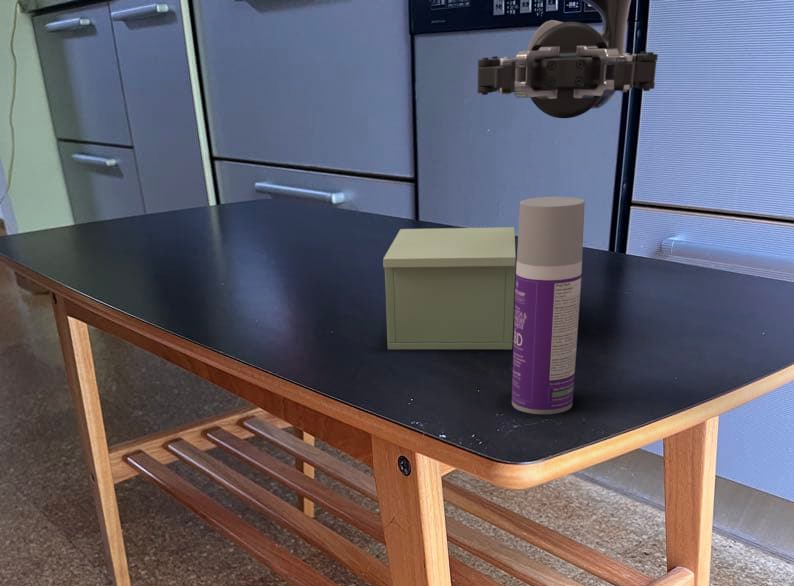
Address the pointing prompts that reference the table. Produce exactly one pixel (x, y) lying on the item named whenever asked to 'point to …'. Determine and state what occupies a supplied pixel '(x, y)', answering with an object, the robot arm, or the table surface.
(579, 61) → the robot arm
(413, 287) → the chest
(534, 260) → the container
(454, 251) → the lid
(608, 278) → the table surface
